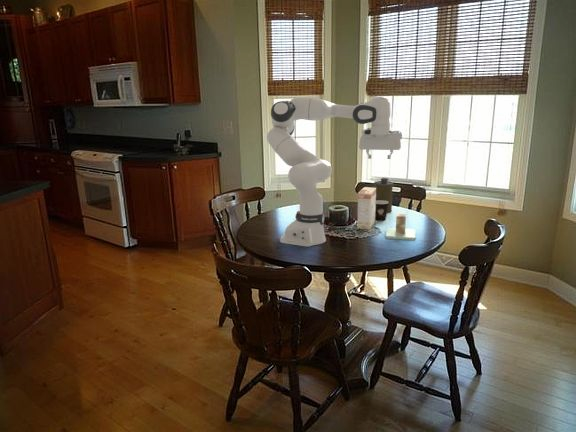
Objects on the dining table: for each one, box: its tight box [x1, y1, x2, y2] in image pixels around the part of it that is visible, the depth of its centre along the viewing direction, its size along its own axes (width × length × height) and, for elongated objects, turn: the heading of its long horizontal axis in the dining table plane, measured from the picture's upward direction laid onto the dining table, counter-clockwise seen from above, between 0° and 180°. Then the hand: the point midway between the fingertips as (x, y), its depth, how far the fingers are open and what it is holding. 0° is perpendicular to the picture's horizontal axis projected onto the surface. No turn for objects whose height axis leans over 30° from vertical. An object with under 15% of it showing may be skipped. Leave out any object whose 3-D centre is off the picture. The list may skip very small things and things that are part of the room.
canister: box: [373, 177, 394, 214], centre depth 253 cm, size 11×10×20 cm
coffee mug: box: [375, 200, 388, 222], centre depth 238 cm, size 12×9×10 cm
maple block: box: [395, 213, 407, 234], centre depth 210 cm, size 4×4×9 cm
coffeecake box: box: [356, 186, 376, 231], centre depth 226 cm, size 15×7×20 cm, turn 157°
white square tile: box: [384, 227, 416, 241], centre depth 212 cm, size 14×14×1 cm
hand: (379, 158), depth 211 cm, fingers open, 8 cm apart
